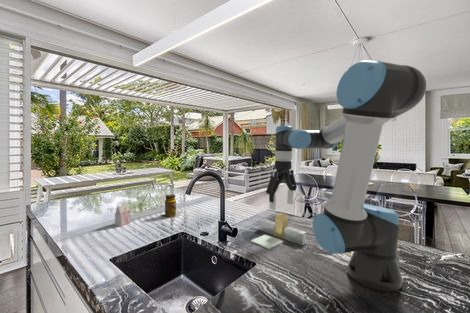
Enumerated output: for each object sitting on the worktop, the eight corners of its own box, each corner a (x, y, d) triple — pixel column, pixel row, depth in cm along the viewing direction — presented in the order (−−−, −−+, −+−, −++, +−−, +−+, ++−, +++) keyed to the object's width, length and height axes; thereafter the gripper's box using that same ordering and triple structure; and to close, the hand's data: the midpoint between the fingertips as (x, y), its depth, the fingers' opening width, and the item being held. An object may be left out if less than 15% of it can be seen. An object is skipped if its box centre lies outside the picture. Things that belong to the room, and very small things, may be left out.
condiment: (178, 216, 136) (178, 195, 135) (163, 219, 131) (163, 197, 130) (173, 213, 142) (173, 193, 141) (159, 215, 137) (159, 195, 136)
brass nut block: (287, 236, 109) (287, 215, 109) (282, 238, 107) (282, 216, 106) (280, 233, 112) (280, 213, 112) (274, 235, 110) (275, 214, 109)
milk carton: (115, 225, 119) (114, 206, 119) (125, 221, 126) (125, 203, 125) (120, 226, 118) (120, 207, 118) (130, 222, 125) (130, 203, 124)
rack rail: (306, 243, 102) (306, 232, 101) (302, 245, 100) (302, 234, 99) (263, 228, 119) (263, 218, 119) (259, 229, 117) (259, 219, 117)
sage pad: (283, 242, 102) (283, 241, 102) (269, 249, 96) (269, 248, 96) (265, 235, 110) (265, 234, 110) (250, 241, 103) (250, 240, 103)
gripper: (291, 158, 118) (290, 200, 120) (258, 161, 101) (257, 209, 103) (305, 159, 113) (303, 203, 115) (272, 162, 96) (271, 213, 98)
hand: (281, 206), depth 109 cm, fingers open, 13 cm apart
